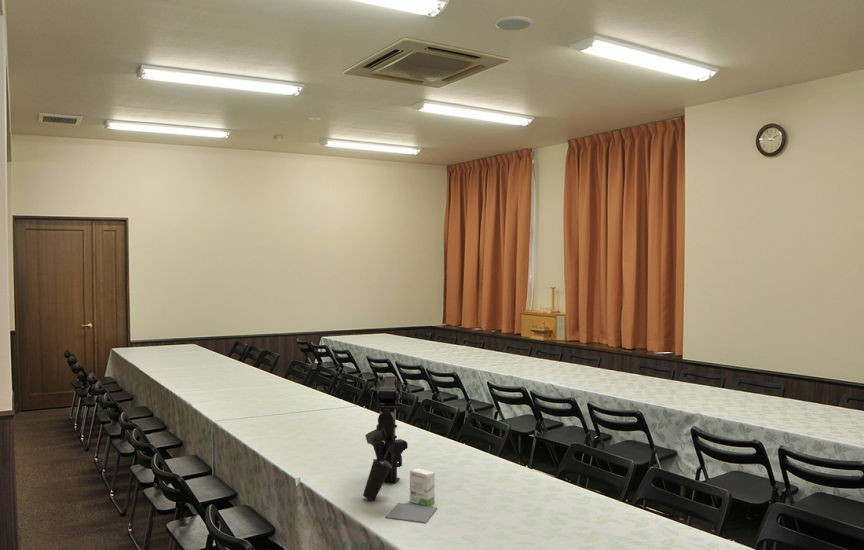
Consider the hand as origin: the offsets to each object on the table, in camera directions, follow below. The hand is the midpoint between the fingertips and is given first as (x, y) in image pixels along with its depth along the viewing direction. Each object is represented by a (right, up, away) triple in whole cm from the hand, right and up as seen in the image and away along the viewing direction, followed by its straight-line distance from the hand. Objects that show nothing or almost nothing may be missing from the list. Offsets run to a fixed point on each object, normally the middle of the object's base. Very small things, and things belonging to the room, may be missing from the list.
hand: (386, 463), depth 237 cm
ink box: (+13, -15, 0) cm, 20 cm away
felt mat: (+10, -14, -11) cm, 21 cm away
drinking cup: (-7, -13, +1) cm, 15 cm away
